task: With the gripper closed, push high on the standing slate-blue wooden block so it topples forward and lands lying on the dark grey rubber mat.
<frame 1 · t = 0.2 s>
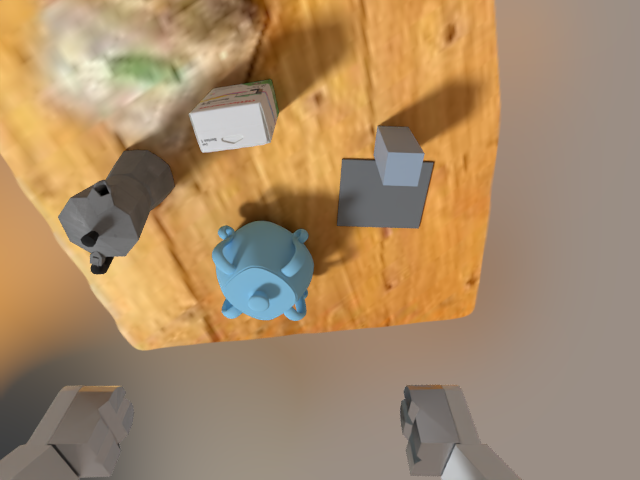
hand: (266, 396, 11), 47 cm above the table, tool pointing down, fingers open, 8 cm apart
block: (390, 141, 55), on the table
mat: (382, 195, 60), on the table
coffeepot: (145, 181, 59), on the table
decorative pot: (268, 250, 67), on the table
ink box: (246, 100, 52), on the table
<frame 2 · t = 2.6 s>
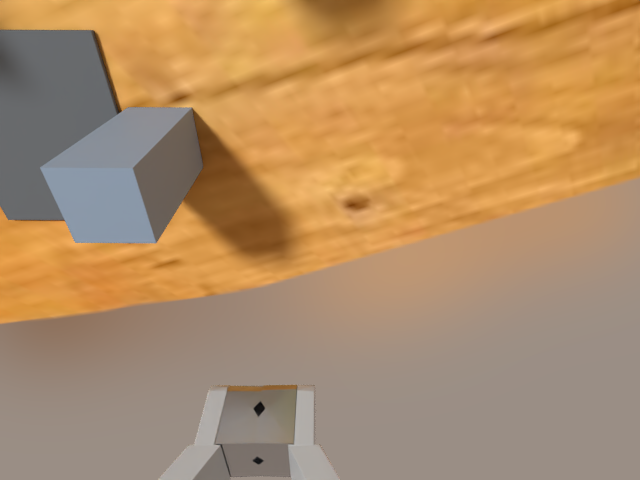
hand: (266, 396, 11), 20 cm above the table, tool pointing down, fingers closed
block: (167, 138, 27), on the table
mat: (45, 138, 27), on the table
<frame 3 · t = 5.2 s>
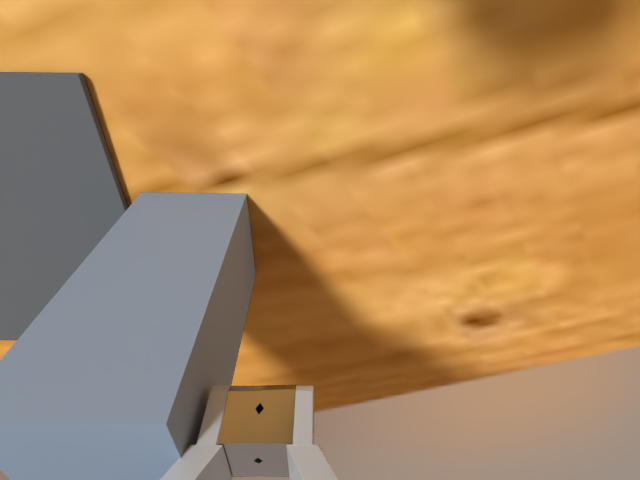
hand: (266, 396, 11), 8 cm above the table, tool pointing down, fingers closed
block: (202, 236, 17), on the table, touching gripper
mat: (6, 235, 17), on the table
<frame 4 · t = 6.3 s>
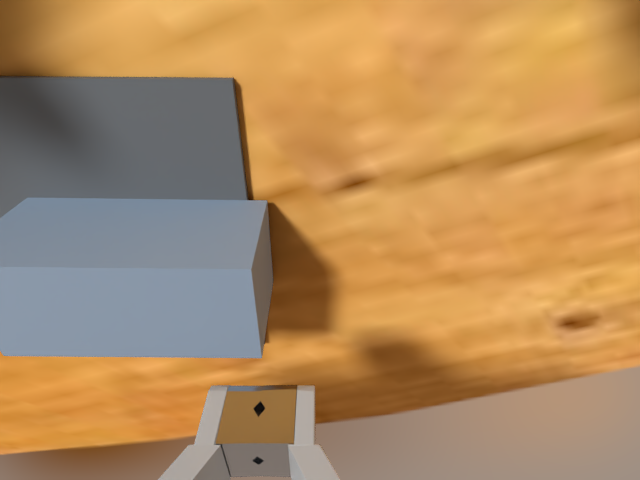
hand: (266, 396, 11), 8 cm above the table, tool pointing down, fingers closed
block: (264, 276, 15), point 3 cm above the table, tilted 90°, touching mat
mat: (122, 239, 17), on the table
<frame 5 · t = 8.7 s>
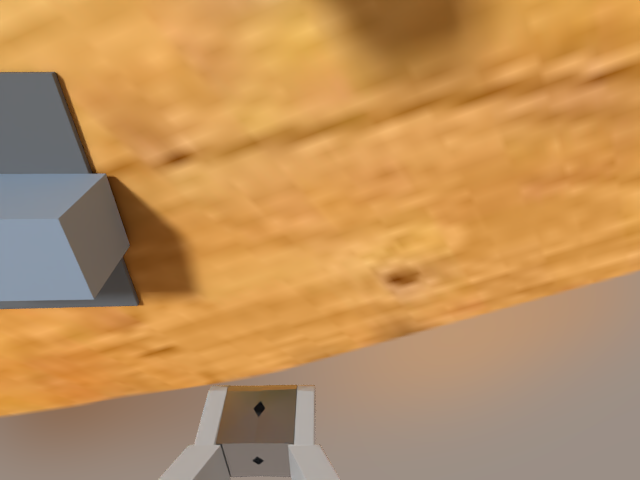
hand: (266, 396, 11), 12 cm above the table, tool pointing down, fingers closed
block: (100, 234, 18), point 3 cm above the table, tilted 90°, touching mat
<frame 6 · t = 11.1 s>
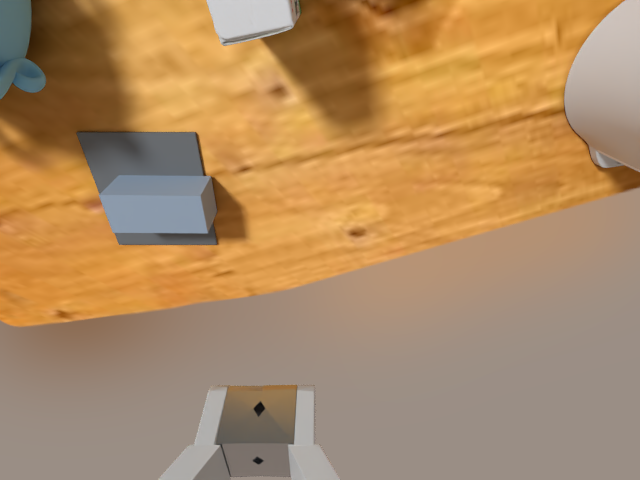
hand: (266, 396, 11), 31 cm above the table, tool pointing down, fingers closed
block: (209, 204, 40), point 3 cm above the table, tilted 90°, touching mat
mat: (154, 193, 42), on the table
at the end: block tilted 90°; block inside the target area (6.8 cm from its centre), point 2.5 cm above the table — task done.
